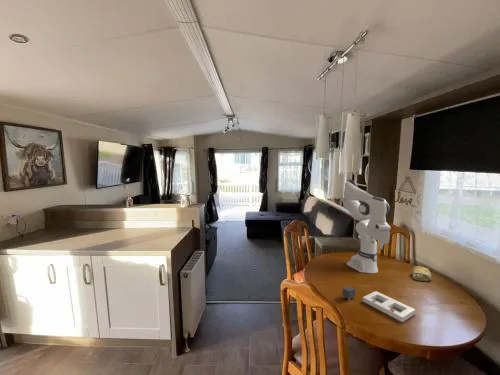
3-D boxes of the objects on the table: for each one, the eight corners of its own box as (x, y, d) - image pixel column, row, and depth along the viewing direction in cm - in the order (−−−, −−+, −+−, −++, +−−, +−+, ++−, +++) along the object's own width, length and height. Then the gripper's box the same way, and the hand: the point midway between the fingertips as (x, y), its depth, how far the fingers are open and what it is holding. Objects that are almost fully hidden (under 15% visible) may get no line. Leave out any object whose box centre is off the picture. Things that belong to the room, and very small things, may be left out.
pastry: (421, 273, 179) (422, 263, 179) (437, 281, 167) (438, 270, 166) (404, 274, 177) (405, 264, 177) (419, 283, 165) (420, 271, 164)
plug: (342, 297, 147) (342, 288, 146) (348, 294, 149) (348, 285, 149) (348, 301, 143) (349, 291, 142) (354, 298, 146) (355, 288, 145)
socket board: (362, 301, 142) (363, 296, 142) (375, 295, 149) (375, 290, 148) (402, 323, 123) (402, 316, 123) (415, 314, 130) (415, 308, 130)
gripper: (364, 220, 157) (363, 240, 158) (381, 228, 137) (380, 251, 138) (373, 219, 157) (372, 240, 159) (392, 227, 137) (391, 251, 138)
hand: (376, 245), depth 148 cm, fingers open, 8 cm apart
